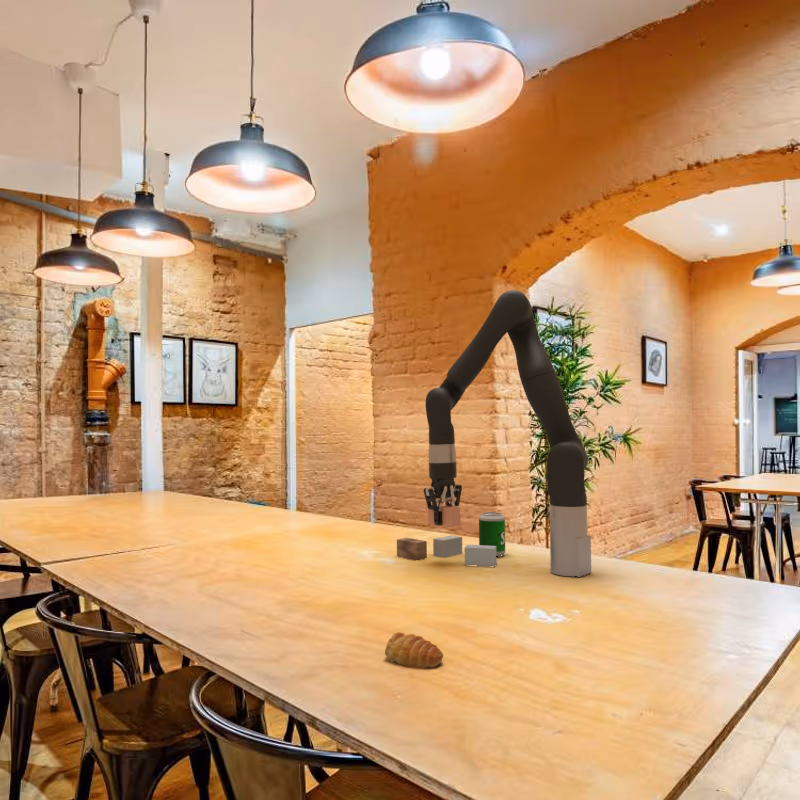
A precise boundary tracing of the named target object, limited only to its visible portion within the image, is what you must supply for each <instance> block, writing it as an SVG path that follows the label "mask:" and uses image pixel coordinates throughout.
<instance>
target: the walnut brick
mask: <svg viewBox="0 0 800 800" xmlns="http://www.w3.org/2000/svg"><path fill="white" fill-rule="evenodd" d="M427 541H428V540H422V539H417V538H412V537H411V538H409V537H404V538H398V539H396V557H397V556H398V558H401V557H403V558H402V559H406V558H407V559H408V560H411V559H412V560H413V561H416V560H418V561H421V559H422V560H426V559H425V558H427V559H428V547H427V546H428V544H427V543H428V542H427ZM407 559H406V560H407ZM412 560H411V561H412Z"/></svg>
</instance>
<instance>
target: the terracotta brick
mask: <svg viewBox="0 0 800 800" xmlns="http://www.w3.org/2000/svg"><path fill="white" fill-rule="evenodd" d="M437 506H438V504H437ZM427 525H428V526H432V527H433V526H434V527H435V526H436V527H443V528H454V527H459V526H462V525H461V506H446V505H442V525H440V526H439V525H435V523H434V511H433V510H431V509H428V508H427Z"/></svg>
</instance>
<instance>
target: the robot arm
mask: <svg viewBox="0 0 800 800" xmlns="http://www.w3.org/2000/svg"><path fill="white" fill-rule="evenodd" d="M505 335H508V337H509V339H510V341H511V343H512V346H513V350H514V353H515V359H516V364H517V371H518V376H519V378H520V382H521V385H522V388H523V391H524V393H525V397H526V399H527V401H528V403H529V405H530V407H531V409H532V410H533V412H534V414H535V415H536V417H537V418H538V420H539V421H540V423H541V425H542V427H543V429H544V431H545V434H546V438H547V441H548V444H549V447H550V449H549V451H548V453H547V457H546V483H547V485H546V486H547V493H548V497H549V498H548V499H549V549H550V550H549V557H550V558H549V559H550V560H549V561H550V562H549V563H550V565H549V566H550V572H551V574H554V575H558V576H562V577H563V576H564V577H575V576H577V578H581V576H582V577H584V576H587V575H590V574H592V539H591V535H590V534H588V500H587V499H588V496H587V493H586V486H585V483H586V482H585V470H586V469H587V466H588V462H589V459H588V454H587V453H588V452H587V450H586V449H585V447H584V445H583V443H582V441H581V439H580V437H579V436H578V434H577V432H576V429H575V427H574V424H573V421H572V420H571V419H572V418H571V416H570V413H569V409H568V405H567V401H566V399H565V396H564V393H563V390H562V386H561V384H560V380H559V377H558V375H557V371H556V370H555V367H554V365H553V362H552V360H551V358H550V357H549V354H548V352H547V350H546V349H545V347H544V345H543V343H542V341H541V338H540V336H539V333H538V328H537V325H536V320H535V316H534V312H533V307H532V304H531V302H530V300H529V298H528V297H527V295H525V293H523V292H521V291H519V290H515V289H511V290H510V289H509V290H506V291H505V292H503V293H502V294H500V296H499V297H498V298H497V300H496V302H495V303H494V305H493V307H492V309H491V311H490V312H489V314H488V316H487V318H486V319H485V321H484V322H483V324H482V326H481V327H480V329H479V330H478V332H477V333H476V335H475V336H474V337H473V339H472V340H471V341H470V342H469V344H468V345H467V347H466V348H465V349H464V350H463V352H462V353H461V354H460V355H459V357H458V358H457V359H456V361H454V362H453V364H452V365H451V366H450V368H449V370H448V371H447V373H446V377H445V379H444V380H443V381H442V383H441V384H440V386H439V387H434V388H432V389H430V390H429V391H428V392H427V394H426V397H425V412H426V413H425V414H426V420H427V424H428V477H429V478H430V480H431V484H430V486H429V487H426V488H425V487H424V488H423V493H424V499H425V502H426V506H427V510H428V509H431V510H433V511H434V523H435V525H439V526H438V527H441V526H440V525H442V506H456V507H460V502H461V495H462V490H463V485H462V484H457V483H456V481H455V479H456V478H457V472H458V471H457V453H456V452H457V451H456V444H455V443H456V441H455V429H454V428H455V427H454V424H453V423H452V412H451V411H452V410H454V408H455V407H456V406H457V405H458V402H459V401H460V399H462V397H463V395H464V393H465V391H466V390H467V388H468V387H469V386H470V385H471V384H472V382H473V381H474V380H475V379H476V378H477V377H478V375H479V374H480V373H481V372H482V370H483V369H484V367H485V366H486V364H487V363H488V361H489V359H490V356H491V355H492V353H493V352H494V350H495V348H496V347H497V345H498V344H499V342H500V341H501V340H502V339H503V338H504V336H505ZM473 383H474V382H473ZM443 504H444V505H443ZM437 505H438V506H437ZM589 573H590V574H589ZM586 574H587V575H586ZM583 575H584V576H583Z"/></svg>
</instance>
